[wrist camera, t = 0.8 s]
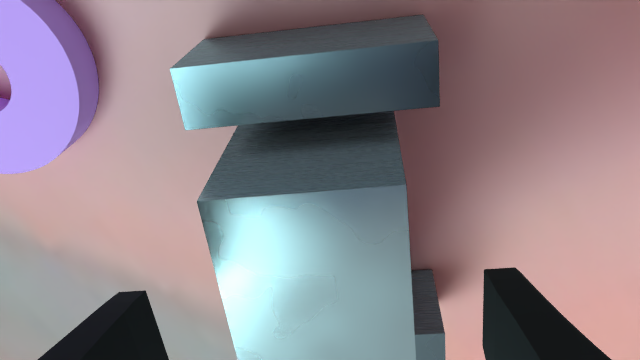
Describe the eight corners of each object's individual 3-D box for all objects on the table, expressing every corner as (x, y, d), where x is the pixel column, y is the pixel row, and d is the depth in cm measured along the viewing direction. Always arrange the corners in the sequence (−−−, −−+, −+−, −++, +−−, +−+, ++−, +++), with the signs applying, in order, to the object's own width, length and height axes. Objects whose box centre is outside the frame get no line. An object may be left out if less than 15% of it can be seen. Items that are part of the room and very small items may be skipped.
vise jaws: (422, 14, 14) (437, 40, 11) (435, 386, 20) (447, 459, 18) (203, 39, 15) (169, 69, 12) (280, 392, 21) (269, 463, 18)
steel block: (389, 86, 15) (406, 184, 10) (400, 259, 18) (418, 410, 13) (251, 100, 16) (197, 201, 10) (283, 266, 18) (252, 415, 13)
